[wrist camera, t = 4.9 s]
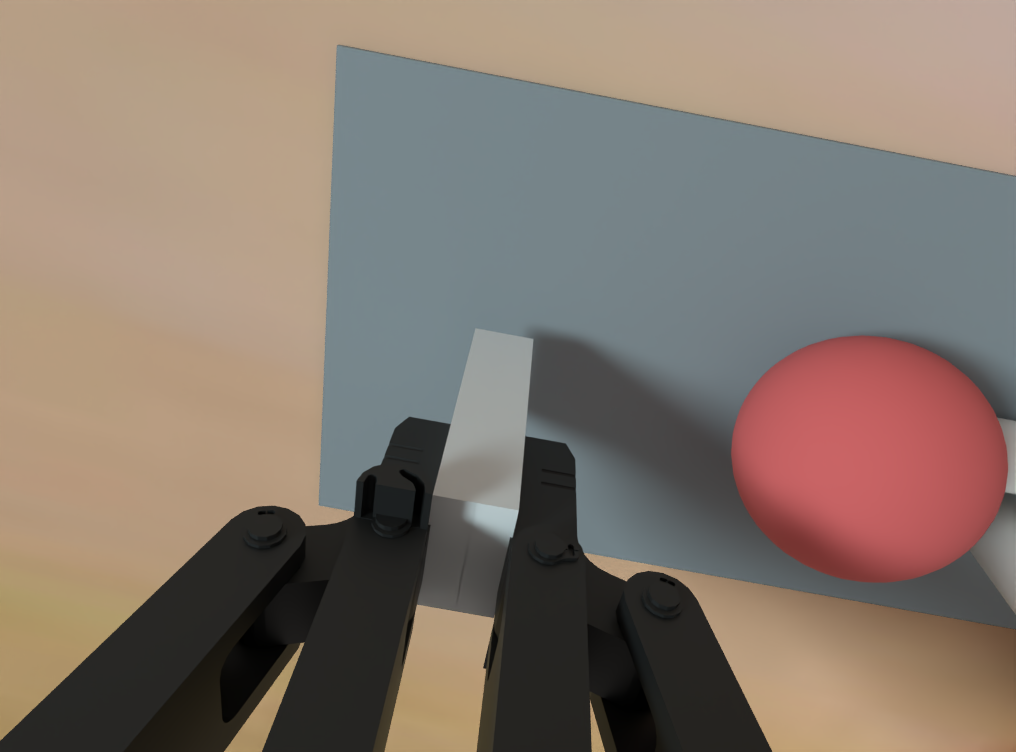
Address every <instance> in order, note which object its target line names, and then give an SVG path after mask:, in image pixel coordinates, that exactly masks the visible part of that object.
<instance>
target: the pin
mask: <svg viewBox="0 0 1016 752" xmlns="http://www.w3.org/2000/svg"><path fill="white" fill-rule="evenodd" d="M970 552H971V553H972V555H973V556H974V557H975V559H976V560H977V562H978V563H979V564H980V566H981V567H982V568H983V570H984V571H985V573H986V574H987V575H988V577H989V578H990V580H991V581H992V582H993V584H994V585H995V587H996V588H997V589H998V591H999V592H1000V593H1001V595H1002V596H1003V598H1004V599H1005V600H1006V602H1007V603H1008V605H1009V606H1010V607H1011V609H1012V610H1013V612H1014V613H1015V614H1016V494H1012V493H1006V492H1005V494H1004V497H1003V500H1002V503H1001V505H1000V508H999V510H998V513H997V515H996V517H995V519H994V520H993V522H992V523H991V525H990V526H989V528H988V529H987V531H986V532H985V534H984V535H983V536H982V537H981V539H980V540H979V541H978V542H977V543H976V544H975V545H974V546H973V547H972V548H971V549H970Z"/></svg>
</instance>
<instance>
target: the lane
mask: <svg viewBox="0 0 1016 752" xmlns="http://www.w3.org/2000/svg"><path fill="white" fill-rule="evenodd" d="M475 328H477V329H482V330H488V331H493V332H498V333H504V334H509V335H515V336H520V337H525V338H531V339H533V350H532V362H531V374H530V385H529V397H528V409H527V421H526V432H525V436H528V437H533V438H539V439H544V440H550V441H555V442H561V443H566V444H567V446H568V448H569V449H570V451H571V453H572V454H573V456H574V458H575V463H576V476H575V478H576V503H577V538H578V543H579V544H580V545H581V546H582V549H583V552H584V553H589V554H595V555H601V556H606V557H612V558H617V559H623V560H629V561H634V562H640V563H646V564H651V565H657V566H662V567H668V568H674V569H679V570H685V571H691V572H696V573H702V574H707V575H713V576H719V577H724V578H730V579H735V580H741V581H747V582H752V583H758V584H764V585H769V586H775V587H780V588H786V589H792V590H797V591H803V592H809V593H814V594H820V595H825V596H831V597H837V598H842V599H848V600H853V601H859V602H865V603H870V604H876V605H882V606H887V607H893V608H898V609H904V610H910V611H915V612H921V613H926V614H932V615H938V616H943V617H949V618H955V619H960V620H966V621H971V622H977V623H983V624H988V625H994V626H1000V627H1005V628H1011V629H1016V614H1015V613H1014V612H1013V610H1012V609H1011V607H1010V606H1009V605H1008V603H1007V602H1006V600H1005V599H1004V598H1003V596H1002V595H1001V593H1000V592H999V591H998V589H997V588H996V587H995V585H994V584H993V582H992V581H991V580H990V578H989V577H988V575H987V574H986V573H985V571H984V570H983V568H982V567H981V566H980V564H979V563H978V562H977V560H976V559H975V557H974V556H973V555H972V553H971V552H970V550H969V551H967V552H966V553H965V554H964V555H962V556H961V557H960V558H958V559H957V560H955V561H954V562H952V563H950V564H949V565H947V566H945V567H943V568H941V569H939V570H936V571H934V572H931V573H929V574H926V575H923V576H920V577H917V578H913V579H908V580H902V581H896V582H887V583H872V582H859V581H852V580H846V579H841V578H837V577H834V576H831V575H827V574H824V573H822V572H819V571H817V570H815V569H812V568H810V567H808V566H806V565H804V564H802V563H801V562H799V561H797V560H796V559H794V558H793V557H791V556H789V555H788V554H786V553H785V552H783V551H782V550H781V549H780V548H779V547H777V546H776V545H775V544H774V543H773V542H772V541H771V540H770V539H769V538H768V537H767V536H766V535H765V534H764V533H763V532H762V531H761V529H760V528H759V527H758V526H757V525H756V523H755V522H754V520H753V519H752V517H751V516H750V514H749V513H748V511H747V509H746V507H745V506H744V503H743V501H742V499H741V497H740V495H739V492H738V489H737V486H736V482H735V479H734V475H733V467H732V458H731V448H732V436H733V430H734V426H735V423H736V419H737V416H738V414H739V411H740V408H741V406H742V404H743V402H744V400H745V399H746V397H747V395H748V394H749V392H750V391H751V389H752V388H753V387H754V385H755V384H756V383H757V381H758V380H759V379H760V378H761V377H762V376H763V375H764V374H765V373H766V372H767V371H768V370H769V369H770V368H771V367H773V366H774V365H775V364H776V363H778V362H779V361H781V360H782V359H784V358H785V357H787V356H788V355H790V354H792V353H793V352H795V351H797V350H799V349H801V348H803V347H806V346H808V345H811V344H814V343H817V342H820V341H824V340H828V339H832V338H837V337H847V336H861V335H864V336H877V337H887V338H891V339H896V340H900V341H904V342H908V343H912V344H914V345H917V346H919V347H922V348H924V349H927V350H929V351H931V352H933V353H935V354H937V355H938V356H940V357H942V358H943V359H945V360H947V361H949V362H950V363H951V364H952V365H954V366H955V367H956V368H957V369H959V370H960V371H961V372H962V373H964V374H965V375H966V376H967V377H969V379H970V380H971V381H972V382H973V383H974V384H975V385H976V386H977V387H978V388H979V389H980V391H981V392H982V394H983V395H984V396H985V398H986V399H987V401H988V402H989V404H990V405H991V407H992V408H993V410H994V412H995V414H996V417H997V418H1002V419H1008V420H1013V421H1016V176H1013V175H1008V174H1003V173H998V172H993V171H987V170H982V169H977V168H972V167H967V166H962V165H956V164H951V163H946V162H941V161H936V160H931V159H925V158H920V157H915V156H910V155H905V154H900V153H895V152H889V151H884V150H879V149H874V148H869V147H864V146H858V145H853V144H848V143H843V142H838V141H833V140H828V139H822V138H817V137H812V136H807V135H802V134H797V133H791V132H786V131H781V130H776V129H771V128H766V127H760V126H755V125H750V124H745V123H740V122H735V121H730V120H724V119H719V118H714V117H709V116H704V115H699V114H693V113H688V112H683V111H678V110H673V109H668V108H663V107H657V106H652V105H647V104H642V103H637V102H632V101H626V100H621V99H616V98H611V97H606V96H601V95H595V94H590V93H585V92H580V91H575V90H570V89H565V88H559V87H554V86H549V85H544V84H539V83H534V82H528V81H523V80H518V79H513V78H508V77H503V76H498V75H492V74H487V73H482V72H477V71H472V70H467V69H461V68H456V67H451V66H446V65H441V64H436V63H430V62H425V61H420V60H415V59H410V58H405V57H400V56H394V55H389V54H384V53H379V52H374V51H369V50H363V49H358V48H353V47H348V46H343V45H337V56H336V82H335V107H334V133H333V158H332V183H331V209H330V234H329V260H328V285H327V310H326V336H325V361H324V387H323V412H322V437H321V463H320V488H319V505H320V506H325V507H331V508H337V509H342V510H348V511H353V512H354V508H355V494H356V481H357V479H358V478H359V477H360V476H361V474H362V473H363V472H364V471H366V470H368V469H370V468H372V467H373V466H377V465H381V463H382V460H383V458H384V456H385V453H386V450H387V447H388V446H389V442H390V440H391V437H392V434H393V432H394V429H395V428H396V427H397V426H398V425H399V424H400V423H402V422H403V421H404V420H405V419H407V418H408V417H415V418H420V419H426V420H431V421H437V422H442V423H448V424H451V422H452V418H453V414H454V410H455V406H456V402H457V398H458V395H459V391H460V387H461V383H462V379H463V375H464V371H465V367H466V363H467V360H468V356H469V352H470V348H471V344H472V340H473V336H474V332H475Z"/></svg>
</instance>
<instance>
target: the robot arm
mask: <svg viewBox="0 0 1016 752" xmlns="http://www.w3.org/2000/svg"><path fill="white" fill-rule="evenodd" d="M532 350H533V339H531V338H525V337H520V336H515V335H509V334H504V333H498V332H493V331H488V330H482V329H477V328H475V332H474V336H473V340H472V344H471V348H470V352H469V356H468V360H467V363H466V367H465V371H464V375H463V379H462V383H461V387H460V391H459V395H458V398H457V402H456V406H455V410H454V414H453V418H452V422H451V424H448V423H442V422H437V421H431V420H426V419H420V418H415V417H408V418H407V419H405V420H404V421H403V422H402V423H400V424H399V425H398V426H397V427H396V428H395V429H394V432H393V434H392V437H391V440H390V442H389V446H388V447H387V450H386V453H385V456H384V458H383V460H382V463H381V465H377V466H373V467H372V468H370V469H368V470H366V471H364V472H363V473H362V474H361V476H360V477H359V478H358V479H357V481H356V494H355V508H354V516H353V517H351V518H349V519H347V520H345V521H342V522H339V523H335V524H328V525H317V526H305V523H304V522H303V520H302V519H301V517H300V516H299V515H298V514H296V513H294V512H293V511H291V510H289V509H287V508H282V507H277V506H262V507H256V508H252V509H249V510H246V511H243V512H242V513H240V514H239V515H237V516H236V517H234V518H233V519H231V520H230V521H229V522H228V523H227V524H226V525H225V526H224V527H223V528H222V529H221V530H220V531H219V532H218V533H217V534H216V535H215V536H214V537H213V538H212V539H210V540H209V541H208V542H207V543H206V544H205V545H204V546H203V547H202V548H201V549H200V550H199V551H198V552H197V553H196V554H195V555H194V556H193V557H192V558H191V559H190V560H189V561H188V562H186V563H185V564H184V565H183V566H182V567H181V568H180V569H179V570H178V571H177V572H176V573H175V574H174V575H173V576H172V577H171V578H170V579H169V580H168V581H167V582H166V583H165V584H164V585H162V586H161V587H160V588H159V589H158V590H157V591H156V592H155V593H154V594H153V595H152V596H151V597H150V598H149V599H148V600H147V601H146V602H145V603H144V604H143V605H142V606H141V607H140V608H138V609H137V610H136V611H135V612H134V613H133V614H132V615H131V616H130V617H129V618H128V619H127V620H126V621H125V622H124V623H123V624H122V625H121V626H120V627H119V628H118V629H117V630H116V631H114V632H113V633H112V634H111V635H110V636H109V637H108V638H107V639H106V640H105V641H104V642H103V643H102V644H101V645H100V646H99V647H98V648H97V649H96V650H95V651H94V652H93V653H92V654H90V655H89V656H88V657H87V658H86V659H85V660H84V661H83V662H82V663H81V664H80V665H79V666H78V667H77V668H76V669H75V670H74V671H73V672H72V673H71V674H70V675H69V676H68V677H66V678H65V679H64V680H63V681H62V682H61V683H60V684H59V685H58V686H57V687H56V688H55V689H54V690H53V691H52V692H51V693H50V694H49V695H48V696H47V697H46V698H45V699H44V700H43V701H41V702H40V703H39V704H38V705H37V706H36V707H35V708H34V709H33V710H32V711H31V712H30V713H29V714H28V715H27V716H26V717H25V718H24V719H23V720H22V721H21V722H20V723H19V724H17V725H16V726H15V727H14V728H13V729H12V730H11V731H10V732H9V733H8V734H7V735H6V736H5V737H4V738H3V739H2V740H1V741H0V752H224V751H225V749H226V748H227V747H228V745H229V744H230V743H231V741H232V740H233V738H234V737H235V736H236V734H237V733H238V731H239V730H240V729H241V727H242V726H243V724H244V723H245V722H246V720H247V719H248V718H249V716H250V715H251V713H252V712H253V711H254V709H255V708H256V706H257V705H258V704H259V702H260V701H261V700H262V698H263V697H264V695H265V694H266V693H267V691H268V690H269V688H270V687H271V686H272V684H273V683H274V681H275V680H276V679H277V677H278V676H279V675H280V673H281V672H282V670H283V669H284V668H285V666H286V665H287V663H288V662H289V661H290V659H291V658H292V657H293V655H294V654H295V652H296V651H297V650H298V648H299V645H300V643H303V642H305V643H304V646H303V648H302V651H301V653H300V656H299V658H298V661H297V663H296V666H295V669H294V671H293V674H292V676H291V679H290V681H289V684H288V687H287V689H286V692H285V694H284V697H283V699H282V702H281V704H280V707H279V710H278V712H277V715H276V717H275V720H274V722H273V725H272V727H271V730H270V733H269V735H268V738H267V740H266V743H265V745H264V748H263V750H262V752H384V751H385V746H386V742H387V738H388V733H389V729H390V725H391V720H392V716H393V712H394V707H395V703H396V699H397V694H398V690H399V686H400V681H401V677H402V673H403V668H404V664H405V660H406V655H407V651H408V647H409V642H410V638H411V634H412V629H413V623H414V616H415V610H416V606H417V604H418V605H423V606H429V607H435V608H441V609H446V610H452V611H458V612H463V613H469V614H475V615H481V616H486V617H492V618H494V615H495V618H494V624H493V629H492V633H491V637H490V641H489V646H488V650H487V654H486V658H485V663H484V667H483V668H485V669H486V676H485V684H484V693H483V701H482V710H481V719H480V727H479V736H478V744H477V752H592V750H591V720H590V700H591V704H592V707H593V711H594V714H595V718H596V721H597V725H598V728H599V732H600V735H601V739H602V742H603V746H604V749H605V752H772V750H771V748H770V746H769V744H768V742H767V740H766V738H765V736H764V734H763V732H762V730H761V728H760V726H759V724H758V722H757V720H756V718H755V716H754V714H753V712H752V710H751V708H750V706H749V704H748V702H747V700H746V698H745V696H744V694H743V691H742V689H741V687H740V685H739V683H738V681H737V679H736V677H735V675H734V673H733V671H732V669H731V667H730V665H729V663H728V661H727V659H726V657H725V655H724V653H723V651H722V649H721V647H720V645H719V643H718V641H717V639H716V637H715V635H714V633H713V631H712V629H711V627H710V625H709V623H708V621H707V619H706V617H705V615H704V613H703V611H702V609H701V607H700V605H699V603H698V601H697V599H696V598H695V596H694V595H693V593H692V592H691V591H690V589H689V588H688V587H686V586H685V585H684V584H682V583H681V582H680V581H679V580H677V579H675V578H673V577H671V576H668V575H666V574H664V573H659V572H652V571H646V572H641V573H636V574H635V575H634V576H632V577H631V578H629V579H628V580H627V581H624V580H622V579H620V578H618V577H615V576H613V575H611V574H609V573H607V572H605V571H603V570H601V569H599V568H598V567H597V566H595V565H594V564H593V563H592V562H590V561H589V560H588V558H587V557H586V556H585V555H584V552H583V549H582V546H581V545H580V544H579V543H578V538H577V503H576V478H575V476H576V463H575V458H574V456H573V454H572V453H571V451H570V449H569V448H568V446H567V444H566V443H561V442H555V441H550V440H544V439H539V438H533V437H528V436H525V432H526V421H527V409H528V397H529V385H530V374H531V362H532Z"/></svg>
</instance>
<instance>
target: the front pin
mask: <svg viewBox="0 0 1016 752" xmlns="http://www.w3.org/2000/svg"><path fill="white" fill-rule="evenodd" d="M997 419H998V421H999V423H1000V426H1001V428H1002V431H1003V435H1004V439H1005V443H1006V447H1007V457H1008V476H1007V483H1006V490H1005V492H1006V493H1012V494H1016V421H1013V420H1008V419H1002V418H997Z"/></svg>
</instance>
